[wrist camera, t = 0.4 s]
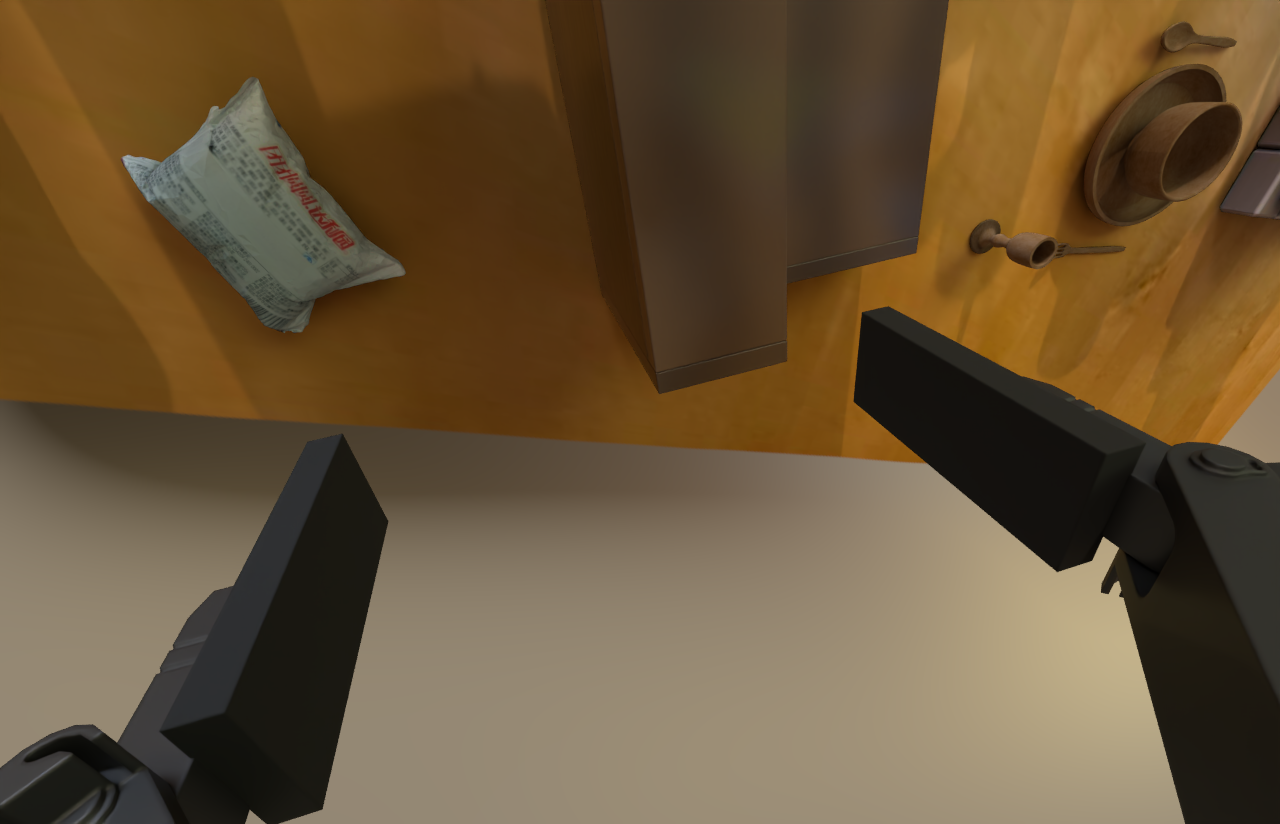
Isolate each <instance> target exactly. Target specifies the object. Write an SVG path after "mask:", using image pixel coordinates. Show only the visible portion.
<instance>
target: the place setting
mask: <svg viewBox="0 0 1280 824" xmlns="http://www.w3.org/2000/svg"><path fill="white" fill-rule="evenodd" d="M1192 43H1200V44H1206V45H1211V46H1217V47H1232V46H1235V45H1236V43H1237V41H1235V40H1234V39H1231V38H1226V37H1212V36H1201V35H1197V34H1196V33H1195V32H1194V31H1193V28H1192V26H1191V25H1190V24H1189V23H1187V22H1179V23H1176V24H1174V25H1172V26H1170V27H1169V28H1168V29H1166V30H1165V32H1164V33H1163V35H1162V38H1161V44H1162V46H1163V47H1164V49H1165V50H1167V51H1169V52H1176V51H1179V50H1181V49H1183V48H1184V47H1186V46H1187V45H1189V44H1192ZM1241 130H1242V118H1241V114H1240V111H1239V109H1238V108H1237V107H1236V106H1235V105H1234V104H1232V103H1228V102H1226V91H1225V86H1224V83H1223V80H1222V78H1221V77H1220V75H1219V74H1218V72H1216V71H1215V70H1214V69H1213V68H1211V67H1209V66H1207V65H1202V64H1187V65H1181V66H1177V67H1173V68H1170V69H1167V70H1165V71H1162V72H1160V73H1158V74H1157V75H1155V76H1153V77H1151V78H1150V79H1148V80H1147V81H1145V82H1144V83H1142V84H1141V85H1139V86H1138V87H1137V88H1136V89H1135V90H1133V91H1132V92H1131V93H1130V94H1129V95H1128V96H1127V97H1126V98H1125V99H1124V100H1123V101H1122V102H1121V103H1120V104H1119V105H1118V106H1117V108H1116V109H1115V110H1114V111H1113V113H1112V114H1111V115H1110V117H1109V118H1108V119H1107V121H1106V122H1105V124H1104V125H1103V127H1102V128H1101V130H1100V132H1099V134H1098V136H1097V137H1096V140H1095V142H1094V144H1093V146H1092V148H1091V151H1090V154H1089V157H1088V160H1087V164H1086V168H1085V174H1084V194H1085V199H1086V202H1087V205H1088V207H1089V209H1090V210H1091V212H1092V213H1093V214H1094V215H1095V216H1096V217H1097V218H1098V219H1100V220H1102V221H1104V222H1105V223H1109V224H1112V225H1116V226H1130V225H1134V224H1138V223H1141V222H1143V221H1146V220H1148V219H1150V218H1152V217H1153V216H1155V215H1157V214H1158V213H1160V212H1161V211H1163V210H1164V209H1165V208H1167V207H1168V206H1169V205H1170V204H1172V203H1173V202H1178V201H1183V200H1186V199H1189V198H1191V197H1193V196H1195V195H1197V194H1198V193H1200V192H1201V191H1203V190H1204V189H1205V188H1206V187H1208V186H1209V185H1210V184H1211V183H1212V182H1213V181H1214V180H1215V179H1216V178H1217V177H1218V176H1219V174H1220V173H1221V172H1222V171H1223V169H1224V168H1225V167H1226V165H1227V164H1228V162H1229V161H1230V159H1231V157H1232V155H1233V153H1234V151H1235V149H1236V147H1237V145H1238V142H1239V139H1240V135H1241ZM1000 231H1001V229H1000V225H999V223H998V222H997V221H995V220H986V221H984V222H982V223H980V224H979V225H978V226H977V227H976V228H975V230H974V231H973V233H972V235H971V238H970V247H971V249H972V251H973V252H975V253H979V254H980V253H985V252H987V251H988V250H990V249H991V248H992V247H993V246H994V247H1005V248H1006V252H1007V256H1008V257H1009V258H1010V259H1011V260H1012V261H1014V262H1016V263H1018V264H1021V265H1024V266H1026V267H1030V268H1034V269H1040V268H1043V267H1045V266H1046V265H1048V264H1049V263H1050V262H1051V261H1052V259H1053V258H1060V257H1063V256H1065V255H1066V254H1069V253H1100V252H1118V251H1124V250H1125V248H1126V247H1118V246H1110V247H1086V248H1071V247H1070V246H1069V244H1067V243H1061V244H1058V243H1057V241H1056V239H1055V238H1052V237H1049V236H1045V235H1041V234H1037V233H1028V232H1026V233H1020V234H1018V235H1016V236H1015V237H1013V238H1007V237H1006V236H1005V235H1003V234H1000ZM1060 245H1065V246H1064V247H1061V248H1058V246H1060ZM1061 249H1062V250H1063V251H1061V252H1057V250H1061ZM1055 254H1061V255H1060V256H1055Z"/></svg>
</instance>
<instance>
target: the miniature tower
mask: <svg viewBox="0 0 1280 824" xmlns="http://www.w3.org/2000/svg"><path fill="white" fill-rule="evenodd" d="M1258 146H1259V148H1265V149H1257V150H1255V151H1254V152H1252V154H1251V156H1250V157H1249V159H1248V161H1247V162H1246V164H1245V166H1244V167H1243V169H1242V171H1241V172H1240V174H1239V176H1238V177H1237V179H1236V181H1235V182H1234V184H1233V186H1232V187H1231V189H1230V191H1229V193H1228V194H1227V196H1226V198H1225V199H1224V201H1223V203H1222V204H1221V206H1220V210H1221V212H1227V213H1233V214H1239V215H1246V216H1252V217H1261V218H1272V219H1280V107H1279V108H1278V110H1277V112H1276V113H1275V115H1274V117H1273V118H1272V120H1271V122H1270V124H1269V125H1268V127H1267V129H1266V130H1265V132H1264V134H1263V135H1262V137H1261V139H1260V140H1259V142H1258ZM1269 149H1272V150H1269Z"/></svg>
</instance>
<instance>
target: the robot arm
mask: <svg viewBox="0 0 1280 824" xmlns="http://www.w3.org/2000/svg"><path fill="white" fill-rule="evenodd" d="M854 402H855V403H856V404H857V405H858V406H859V407H861V408H862V409H863V410H864V411H865V412H867V413H868V414H869V415H870V416H871V417H873V418H874V419H875V420H876V421H877V422H879V423H880V424H881V425H882V426H883V427H884V428H886V429H887V430H888V431H889V432H890V433H892V434H893V435H894V436H895V437H896V438H898V439H899V440H900V441H901V442H902V443H904V444H905V445H906V446H907V447H908V448H910V449H911V450H912V451H913V452H914V453H916V454H917V455H918V456H919V457H920V458H922V459H923V460H924V461H925V462H926V463H927V464H929V465H930V466H931V467H932V468H934V469H935V470H936V471H937V472H938V473H939V474H941V475H942V476H943V477H944V478H945V479H947V480H948V481H949V482H950V483H951V484H953V485H954V486H955V487H956V488H957V489H959V490H960V491H961V492H962V493H963V494H965V495H966V496H967V497H968V498H969V499H971V500H972V501H973V502H974V503H975V504H977V505H978V506H979V507H980V508H981V509H982V510H984V511H985V512H986V513H987V514H988V515H990V516H991V517H992V518H993V519H994V520H996V521H997V522H998V523H999V524H1000V525H1002V526H1003V527H1004V528H1005V529H1006V530H1008V531H1009V532H1010V533H1011V534H1012V535H1014V536H1015V537H1016V538H1017V539H1018V540H1019V541H1021V542H1022V543H1023V544H1024V545H1026V546H1027V547H1028V548H1029V549H1030V550H1031V551H1033V552H1034V553H1035V554H1036V555H1037V556H1039V557H1040V558H1041V559H1042V560H1043V561H1045V562H1046V563H1047V564H1048V565H1049V566H1051V567H1052V568H1053V569H1054V570H1056V571H1057V572H1059V571H1062V570H1065V569H1068V568H1071V567H1074V566H1077V565H1080V564H1083V563H1087V562H1090V561H1092V560H1093V558H1094V555H1095V553H1096V551H1097V549H1098V547H1099V544H1100V542H1101V540H1102V538H1103V537H1105V538H1106V539H1108V540H1109V541H1110V542H1112V543H1113V544H1115V545H1116V546H1117V547H1119V550H1118V552H1117V554H1116V556H1115V558H1114V560H1113V562H1112V564H1111V566H1110V568H1109V570H1108V572H1107V574H1106V576H1105V578H1104V580H1103V582H1102V587H1101V593H1105V594H1109V592H1110V590H1111V588H1112V586H1113V584H1114V583H1115V582H1117V581H1119V582H1120V587H1121V590H1122V591H1121V593H1120V595H1119V596H1120V597H1123V598H1124V601H1125V605H1126V608H1127V612H1128V616H1129V619H1130V623H1131V626H1132V630H1133V634H1134V638H1135V641H1136V645H1137V649H1138V652H1139V656H1140V659H1141V663H1142V667H1143V671H1144V674H1145V678H1146V681H1147V685H1148V689H1149V693H1150V696H1151V700H1152V703H1153V707H1154V711H1155V715H1156V718H1157V722H1158V726H1159V729H1160V733H1161V737H1162V740H1163V744H1164V747H1165V751H1166V755H1167V759H1168V762H1169V766H1170V770H1171V773H1172V777H1173V781H1174V784H1175V788H1176V792H1177V795H1178V799H1179V802H1180V806H1181V809H1182V814H1183V817H1184V820H1185V824H1280V463H1264V462H1262V461H1260V460H1259V459H1256V458H1255V457H1253V456H1251V455H1249V454H1247V453H1244V452H1241V451H1238V450H1235V449H1232V448H1229V447H1226V446H1220V445H1215V444H1210V443H1198V442H1186V443H1181V444H1176V445H1174V446H1170V445H1168V444H1166V443H1164V442H1162V441H1160V440H1158V439H1156V438H1154V437H1152V436H1150V435H1148V434H1146V433H1144V432H1142V431H1140V430H1138V429H1137V428H1135V427H1133V426H1131V425H1129V424H1127V423H1125V422H1123V421H1121V420H1119V419H1117V418H1115V417H1113V416H1111V415H1109V414H1107V413H1105V412H1103V411H1102V410H1100V409H1099V410H1095V408H1094V406H1092V405H1090V404H1088V403H1086V402H1084V401H1082V400H1080V399H1079V400H1076V399H1075V397H1074V396H1072V395H1070V394H1068V393H1067V392H1065V391H1063V390H1061V389H1059V388H1057V387H1055V386H1053V385H1050V384H1047V383H1044V382H1040V381H1037V380H1033V379H1030V378H1027V377H1021V376H1019V375H1017V374H1015V373H1014V372H1012V371H1010V370H1008V369H1006V368H1004V367H1002V366H1000V365H998V364H997V363H995V362H993V361H991V360H989V359H987V358H985V357H983V356H981V355H979V354H978V353H976V352H974V351H972V350H970V349H968V348H966V347H964V346H962V345H961V344H959V343H957V342H955V341H953V340H951V339H949V338H947V337H945V336H944V335H942V334H940V333H938V332H936V331H934V330H932V329H930V328H928V327H926V326H925V325H923V324H921V323H919V322H917V321H915V320H913V319H911V318H909V317H908V316H906V315H904V314H902V313H900V312H898V311H896V310H894V309H892V308H890V307H889V306H888V307H883V308H879V309H875V310H870V311H866V312H862V318H861V328H860V339H859V349H858V360H857V370H856V381H855V391H854ZM387 525H388V520H387V518H386V516H385V514H384V512H383V510H382V508H381V507H380V505H379V503H378V501H377V499H376V497H375V495H374V493H373V491H372V489H371V487H370V485H369V484H368V481H367V480H366V478H365V476H364V474H363V472H362V470H361V468H360V466H359V464H358V462H357V460H356V458H355V457H354V455H353V453H352V451H351V449H350V447H349V445H348V443H347V441H346V439H345V437H344V435H343V434H339V435H335V436H330V437H327V438H322V439H317V440H313V441H309V442H307V444H306V446H305V448H304V450H303V452H302V454H301V456H300V458H299V460H298V461H297V463H296V466H295V467H294V469H293V471H292V473H291V476H290V477H289V479H288V481H287V483H286V485H285V487H284V489H283V491H282V493H281V495H280V496H279V499H278V501H277V502H276V504H275V506H274V508H273V510H272V512H271V514H270V516H269V518H268V520H267V522H266V524H265V526H264V528H263V530H262V532H261V534H260V535H259V537H258V539H257V541H256V543H255V545H254V547H253V549H252V551H251V553H250V555H249V557H248V559H247V561H246V563H245V565H244V567H243V569H242V571H241V572H240V574H239V576H238V579H237V580H236V582H235V584H234V586H231V587H228V588H224V589H220V590H216V591H214V592H213V593H212V594H211V595H210V596H209V597H208V598H207V599H206V600H205V601H204V602H203V603H202V604H201V605H200V606H199V607H198V608H197V609H196V610H195V611H194V612H193V614H192V615H190V617H189V618H188V619H187V621H186V623H185V625H184V626H183V628H182V630H181V632H180V633H179V635H178V637H177V639H176V640H175V642H174V644H173V648H174V649H173V650H171V651H169V653H168V654H167V656H166V658H165V660H164V661H163V663H162V665H161V667H160V673H159V674H156V676H155V677H154V679H153V681H152V683H151V684H150V686H149V688H148V690H147V691H146V693H145V695H144V697H143V698H142V700H141V702H140V704H139V705H138V708H137V709H136V711H135V712H134V714H133V716H132V718H131V719H130V721H129V723H128V725H127V727H126V728H125V730H124V732H123V734H122V735H121V737H120V739H119V741H118V742H117V743H116V742H115V741H114V740H113V739H111V738H110V737H109V736H107V735H106V734H105V733H103V732H102V731H101V730H100V729H98V728H97V727H96V726H94V725H74V726H71V727H68V728H66V729H63V730H60V731H57V732H55V733H52V734H50V735H48V736H46V737H44V738H43V739H41V740H39V741H38V742H36V743H35V744H32V745H31V746H29V747H27V748H26V749H24V750H22V751H21V752H20V753H19V754H17V755H16V756H15V757H13V758H12V759H11V760H10V761H8V762H7V763H6V764H5V765H3V766H2V767H1V768H0V824H245V822H246V819H247V816H248V813H249V810H251V811H252V812H253V813H254V814H256V815H257V816H258V817H259V818H260V819H261V820H263V821H264V822H265V823H266V824H279V823H281V822H285V821H288V820H291V819H294V818H297V817H301V816H304V815H307V814H310V813H313V812H316V811H319V810H322V809H323V804H324V800H325V795H326V791H327V787H328V782H329V778H330V774H331V770H332V765H333V761H334V756H335V752H336V748H337V743H338V739H339V735H340V730H341V725H342V721H343V717H344V712H345V708H346V704H347V700H348V695H349V691H350V686H351V682H352V678H353V673H354V669H355V664H356V660H357V656H358V652H359V647H360V643H361V638H362V634H363V629H364V625H365V621H366V617H367V612H368V607H369V603H370V599H371V594H372V590H373V586H374V582H375V577H376V573H377V568H378V564H379V560H380V555H381V551H382V547H383V542H384V537H385V534H386V529H387Z"/></svg>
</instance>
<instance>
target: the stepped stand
mask: <svg viewBox="0 0 1280 824" xmlns="http://www.w3.org/2000/svg"><path fill="white" fill-rule="evenodd" d="M948 2H949V0H545V3H546V8H547V14H548V19H549V24H550V29H551V34H552V39H553V44H554V50H555V55H556V60H557V65H558V70H559V75H560V81H561V86H562V91H563V96H564V101H565V106H566V112H567V117H568V122H569V127H570V132H571V137H572V143H573V148H574V153H575V158H576V163H577V168H578V174H579V179H580V184H581V189H582V194H583V199H584V205H585V210H586V215H587V220H588V225H589V230H590V236H591V241H592V246H593V251H594V256H595V261H596V266H597V272H598V277H599V280H600V281H599V282H600V287H601V292H602V296H603V298H604V299H605V301H606V303H607V305H608V306H609V308H610V310H611V311H612V313H613V315H614V317H615V318H616V320H617V322H618V324H619V325H620V327H621V329H622V331H623V332H624V334H625V336H626V337H627V339H628V341H629V343H630V344H631V346H632V348H633V350H634V351H635V353H636V355H637V356H638V358H639V360H640V362H641V363H642V365H643V367H644V369H645V370H646V372H647V374H648V375H649V377H650V379H651V381H652V382H653V384H654V386H655V388H656V389H657V391H658V393H659V394H662V393H666V392H669V391H673V390H677V389H681V388H685V387H689V386H693V385H697V384H701V383H704V382H708V381H712V380H716V379H720V378H724V377H728V376H732V375H736V374H740V373H743V372H747V371H751V370H755V369H759V368H763V367H767V366H771V365H775V364H778V363H782V362H786V361H787V341H786V340H787V284H788V283H792V282H796V281H800V280H805V279H809V278H813V277H817V276H821V275H826V274H830V273H834V272H838V271H842V270H847V269H851V268H855V267H859V266H864V265H868V264H872V263H876V262H880V261H885V260H889V259H893V258H897V257H902V256H906V255H910V254H914V253H916V251H917V244H918V235H919V227H920V220H921V212H922V204H923V196H924V189H925V181H926V173H927V165H928V158H929V150H930V142H931V134H932V127H933V119H934V111H935V103H936V96H937V88H938V80H939V72H940V65H941V57H942V49H943V41H944V33H945V26H946V18H947V10H948Z"/></svg>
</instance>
